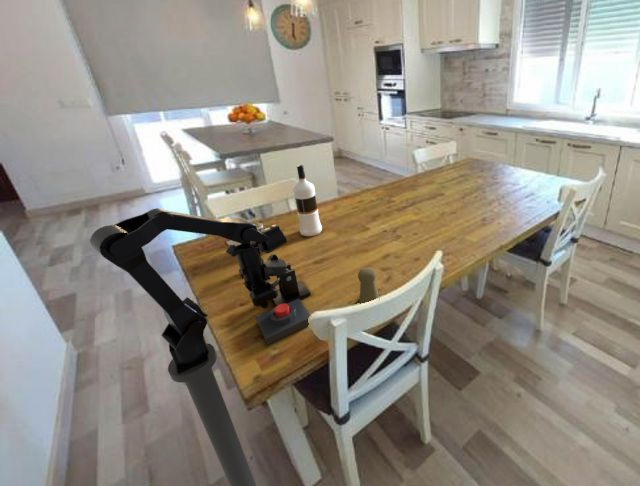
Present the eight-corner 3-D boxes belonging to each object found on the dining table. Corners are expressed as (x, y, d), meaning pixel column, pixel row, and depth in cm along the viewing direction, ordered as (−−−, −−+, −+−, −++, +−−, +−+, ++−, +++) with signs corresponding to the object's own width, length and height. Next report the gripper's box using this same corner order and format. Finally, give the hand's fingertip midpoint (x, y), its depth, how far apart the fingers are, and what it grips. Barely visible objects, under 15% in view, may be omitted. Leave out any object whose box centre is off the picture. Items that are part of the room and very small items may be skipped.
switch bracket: (277, 309, 94) (271, 282, 90) (270, 295, 100) (263, 269, 96) (310, 295, 100) (305, 269, 96) (301, 283, 106) (296, 257, 102)
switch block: (267, 344, 82) (264, 333, 81) (257, 322, 89) (254, 311, 88) (312, 323, 89) (310, 311, 87) (300, 304, 96) (298, 293, 95)
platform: (280, 235, 136) (278, 222, 134) (235, 252, 124) (231, 237, 122) (269, 227, 144) (266, 214, 141) (225, 241, 132) (221, 227, 130)
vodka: (299, 238, 134) (286, 169, 122) (301, 228, 142) (289, 163, 130) (322, 235, 136) (311, 167, 124) (322, 226, 144) (312, 161, 132)
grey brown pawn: (360, 309, 94) (356, 278, 89) (358, 296, 99) (355, 266, 95) (380, 305, 95) (378, 274, 91) (377, 292, 101) (375, 263, 96)
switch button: (277, 319, 86) (276, 314, 85) (274, 312, 88) (272, 307, 87) (291, 313, 88) (290, 308, 87) (287, 306, 90) (286, 301, 89)
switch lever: (262, 306, 94) (254, 301, 92) (259, 301, 96) (251, 295, 94) (294, 276, 97) (287, 270, 95) (291, 271, 100) (284, 265, 98)
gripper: (290, 264, 87) (301, 309, 93) (271, 238, 100) (282, 279, 107) (246, 281, 81) (261, 328, 87) (232, 251, 94) (246, 293, 101)
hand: (264, 304), depth 96 cm, fingers closed on switch lever, 3 cm apart
